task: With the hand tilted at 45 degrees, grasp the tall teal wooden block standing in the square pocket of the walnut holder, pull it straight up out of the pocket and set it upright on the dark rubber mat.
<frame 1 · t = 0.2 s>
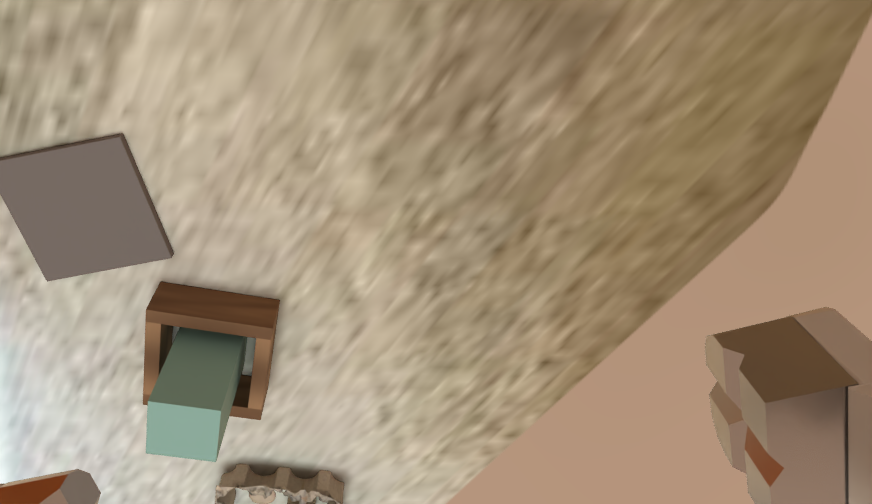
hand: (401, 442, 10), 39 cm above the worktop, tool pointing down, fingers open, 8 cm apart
rubber mat: (84, 208, 51), on the worktop
egg carton: (283, 490, 65), on the worktop
teal block: (201, 381, 52), in the pocket holder
pocket holder: (216, 337, 56), on the worktop
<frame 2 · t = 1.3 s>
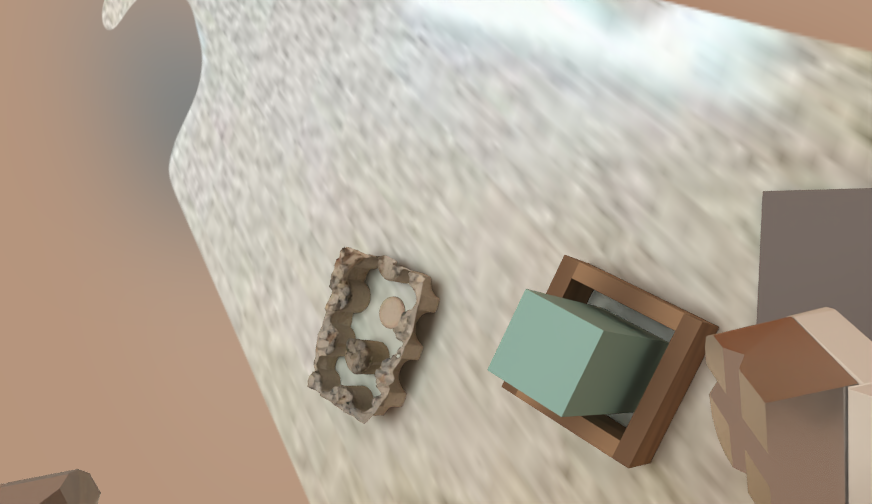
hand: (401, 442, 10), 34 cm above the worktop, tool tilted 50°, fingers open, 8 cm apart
rubber mat: (858, 280, 38), on the worktop
egg carton: (390, 336, 53), on the worktop
teal block: (584, 355, 40), in the pocket holder
pocket holder: (617, 358, 44), on the worktop
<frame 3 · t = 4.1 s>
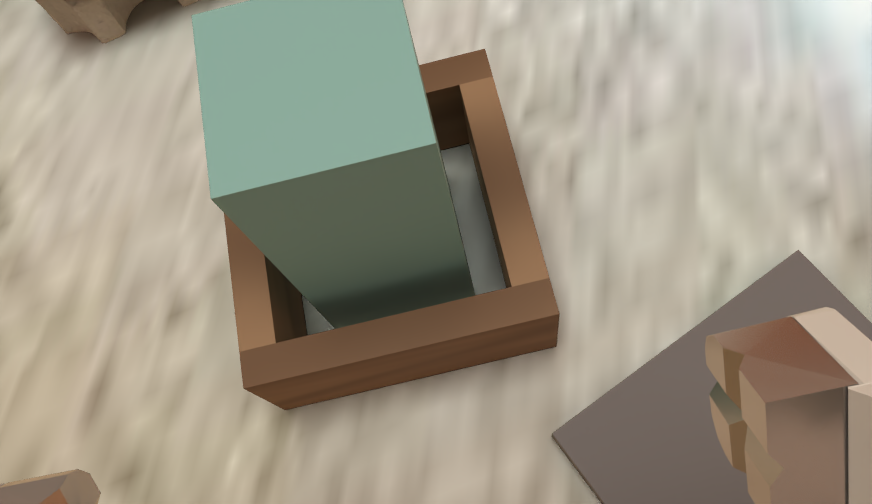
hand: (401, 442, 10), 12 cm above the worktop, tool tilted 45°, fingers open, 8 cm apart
rubber mat: (786, 474, 21), on the worktop
teal block: (360, 184, 20), in the pocket holder
pocket holder: (394, 251, 24), on the worktop
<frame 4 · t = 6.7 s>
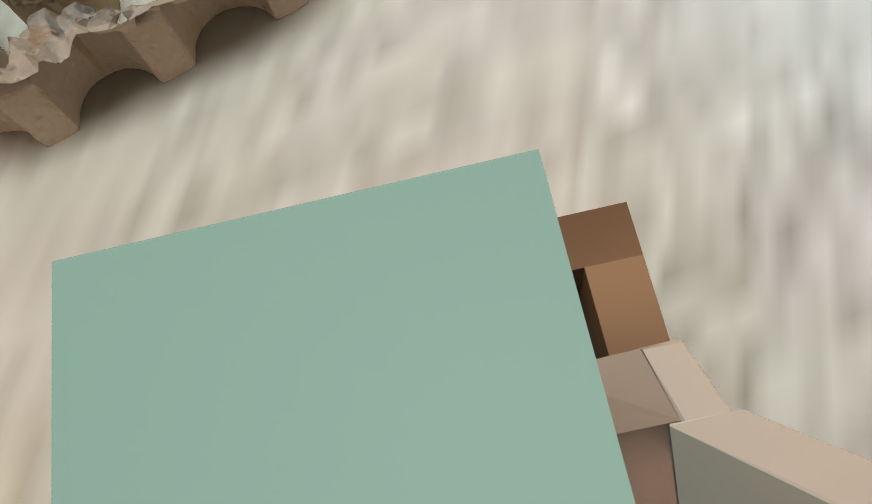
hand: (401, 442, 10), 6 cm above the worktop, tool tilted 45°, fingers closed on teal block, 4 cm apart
egg carton: (145, 3, 21), on the worktop
teal block: (420, 495, 10), in the pocket holder, touching gripper
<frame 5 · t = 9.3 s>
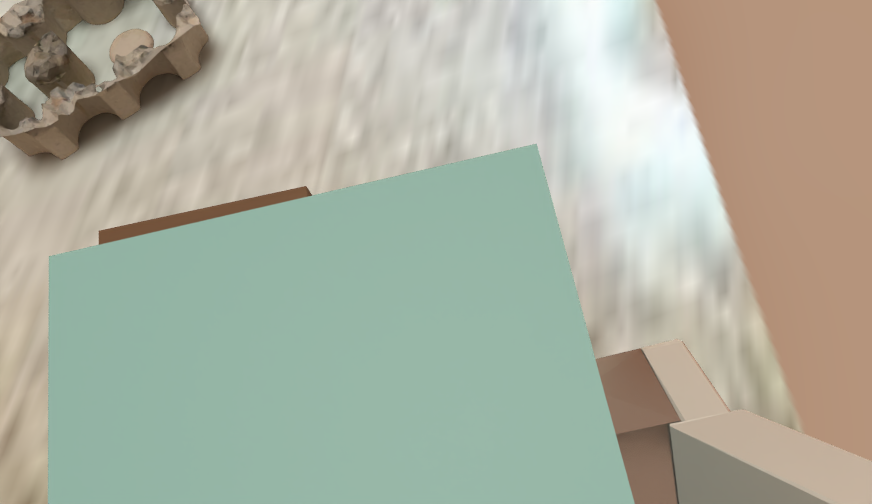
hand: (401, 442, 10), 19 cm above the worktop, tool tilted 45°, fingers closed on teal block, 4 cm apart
egg carton: (108, 74, 37), on the worktop
teal block: (418, 492, 10), point 18 cm above the worktop, touching gripper
pocket holder: (242, 333, 31), on the worktop
when the fingers open (8 cm above the worktop, at t = 11.9 s): teal block drops 1 cm, resting on rubber mat.
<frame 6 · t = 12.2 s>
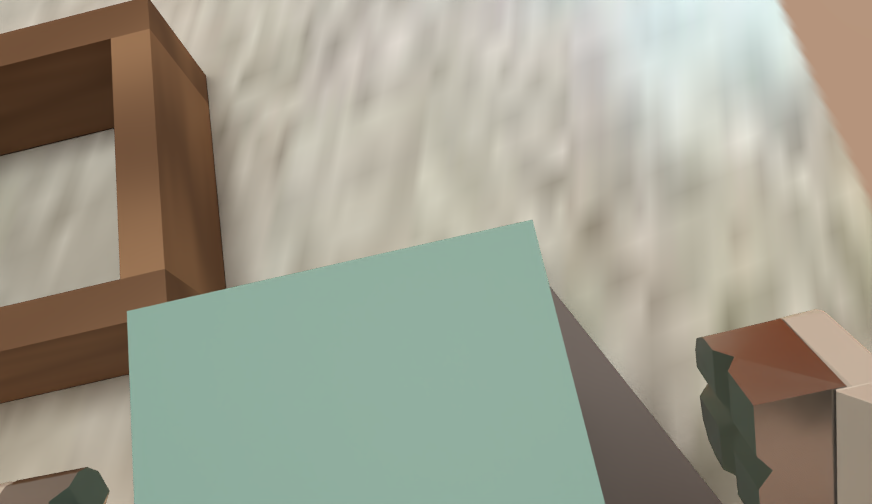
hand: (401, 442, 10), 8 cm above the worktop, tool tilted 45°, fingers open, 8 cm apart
teal block: (430, 500, 12), on the rubber mat, point 6 cm above the worktop
pocket holder: (71, 237, 21), on the worktop
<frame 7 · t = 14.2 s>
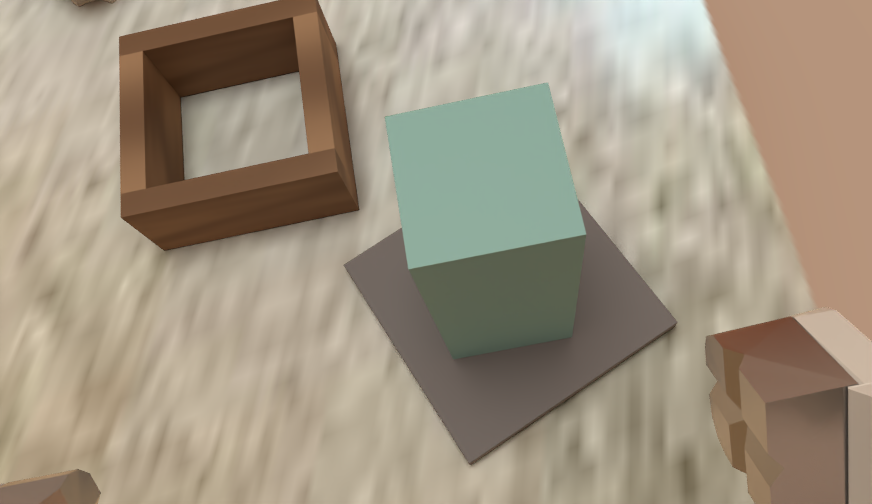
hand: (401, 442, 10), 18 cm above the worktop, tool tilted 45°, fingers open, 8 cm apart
rubber mat: (503, 296, 29), on the worktop
teal block: (492, 243, 24), on the rubber mat, point 6 cm above the worktop
pocket holder: (253, 143, 33), on the worktop
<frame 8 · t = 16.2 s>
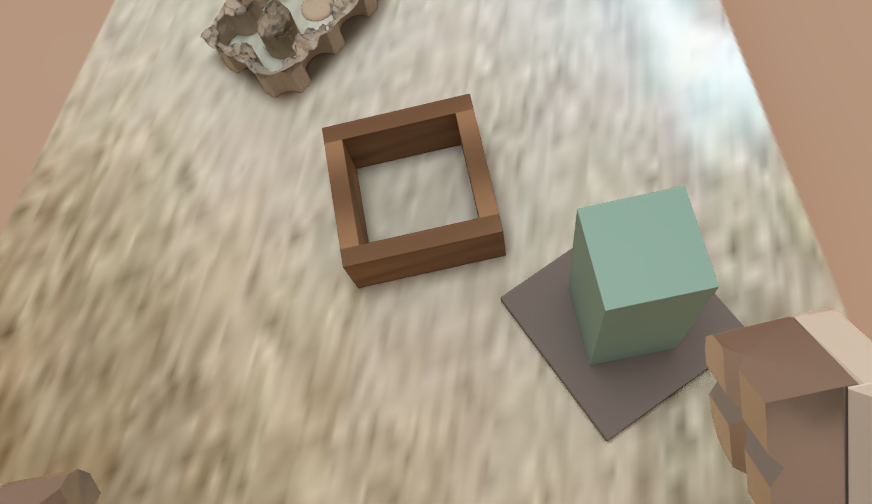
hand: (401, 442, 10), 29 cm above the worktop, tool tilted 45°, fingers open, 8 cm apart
rubber mat: (621, 319, 40), on the worktop
egg carton: (305, 30, 50), on the worktop
teal block: (631, 285, 35), on the rubber mat, point 6 cm above the worktop
pocket holder: (418, 204, 44), on the worktop
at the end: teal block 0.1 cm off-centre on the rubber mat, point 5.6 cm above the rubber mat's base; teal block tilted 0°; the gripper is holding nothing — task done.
